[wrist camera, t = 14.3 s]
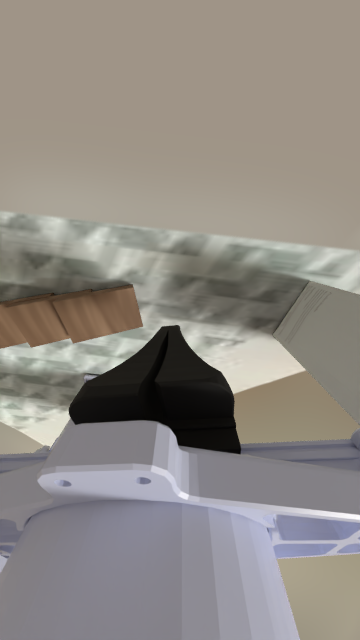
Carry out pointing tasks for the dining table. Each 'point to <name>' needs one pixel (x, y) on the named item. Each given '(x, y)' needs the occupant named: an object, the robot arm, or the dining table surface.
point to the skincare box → (327, 341)
